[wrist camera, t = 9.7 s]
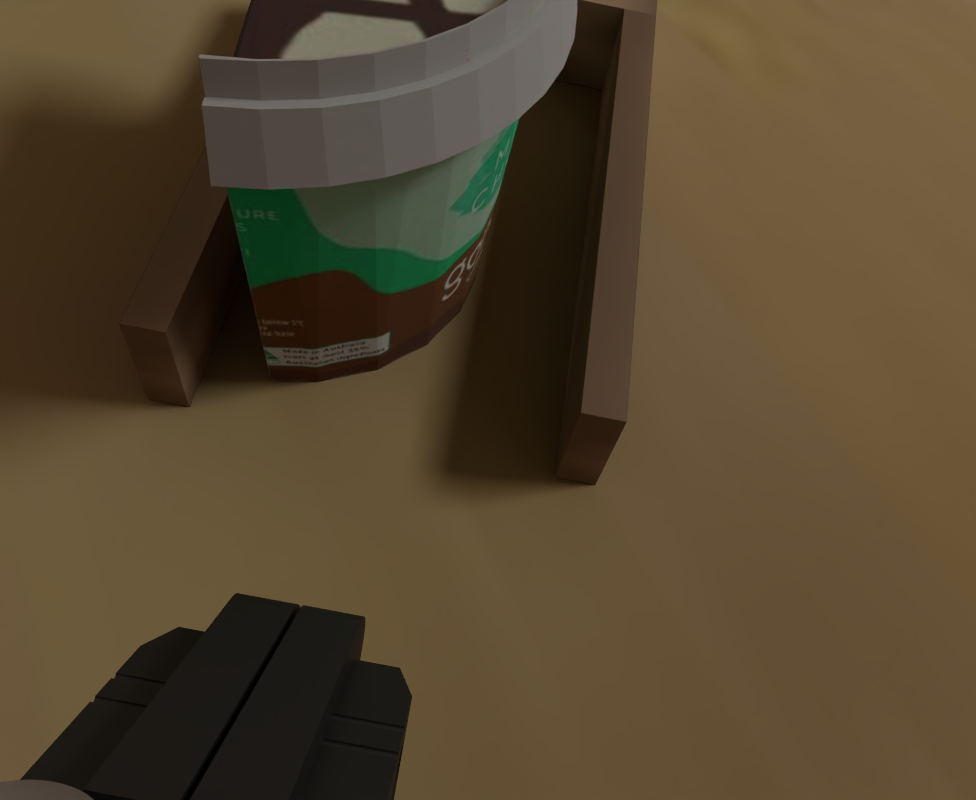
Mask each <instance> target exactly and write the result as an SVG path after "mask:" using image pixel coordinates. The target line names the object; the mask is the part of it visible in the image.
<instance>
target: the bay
mask: <svg viewBox="0 0 976 800" xmlns="http://www.w3.org/2000/svg"><path fill="white" fill-rule="evenodd" d="M656 8H657V0H577V18H576V28H575V38H574V41H573V44H572V47H571V49H570V52H569V54H568V57H567V60H566V62H565V65H564V67H563V69H562V70H561V72H560V73H559V75H558V76H557V77H556V79H555V80H557V81H562V82H567V83H572V84H577V85H582V86H586V87H591V88H596V89H601V90H602V93H601V101H600V109H599V118H598V126H597V134H596V142H595V151H594V159H593V167H592V176H591V184H590V192H589V200H588V209H587V217H586V225H585V233H584V242H583V250H582V258H581V266H580V275H579V283H578V291H577V299H576V308H575V316H574V324H573V332H572V341H571V349H570V357H569V365H568V374H567V382H566V390H565V398H564V407H563V415H562V423H561V432H560V440H559V448H558V456H557V465H556V473H555V477H557V478H563V479H568V480H573V481H578V482H583V483H589V484H594V485H595V484H596V482H597V480H598V478H599V476H600V474H601V472H602V470H603V468H604V466H605V464H606V462H607V460H608V458H609V456H610V454H611V452H612V450H613V448H614V446H615V444H616V442H617V440H618V438H619V436H620V434H621V432H622V430H623V428H624V426H625V424H626V422H627V410H628V397H629V383H630V369H631V355H632V341H633V327H634V313H635V300H636V286H637V272H638V258H639V244H640V230H641V216H642V203H643V189H644V175H645V161H646V147H647V133H648V119H649V106H650V92H651V78H652V64H653V50H654V36H655V22H656ZM244 271H245V266H244V262H243V257H242V253H241V249H240V244H239V240H238V236H237V231H236V227H235V223H234V218H233V214H232V210H231V205H230V201H229V197H228V192H227V188H226V187H218V186H211V182H210V174H209V165H208V156H207V148H206V147H205V149H204V151H203V153H202V155H201V157H200V159H199V161H198V163H197V165H196V168H195V170H194V172H193V174H192V176H191V178H190V180H189V182H188V184H187V186H186V188H185V190H184V192H183V194H182V196H181V198H180V200H179V202H178V204H177V206H176V208H175V210H174V212H173V214H172V216H171V218H170V220H169V223H168V225H167V227H166V229H165V231H164V233H163V235H162V237H161V239H160V241H159V243H158V245H157V247H156V249H155V251H154V253H153V255H152V257H151V259H150V261H149V263H148V265H147V267H146V269H145V271H144V273H143V276H142V278H141V280H140V282H139V284H138V286H137V288H136V290H135V292H134V294H133V296H132V298H131V300H130V302H129V304H128V306H127V308H126V310H125V312H124V314H123V316H122V318H121V320H120V322H119V325H120V327H121V330H122V332H123V335H124V337H125V340H126V343H127V345H128V348H129V350H130V353H131V355H132V358H133V361H134V363H135V366H136V368H137V371H138V373H139V376H140V379H141V381H142V384H143V386H144V389H145V391H146V394H147V397H148V399H152V400H157V401H162V402H167V403H172V404H178V405H183V406H188V407H190V404H191V402H192V399H193V397H194V394H195V392H196V389H197V387H198V384H199V382H200V380H201V377H202V375H203V372H204V370H205V367H206V365H207V362H208V360H209V357H210V355H211V352H212V350H213V348H214V345H215V343H216V340H217V338H218V335H219V333H220V330H221V328H222V325H223V323H224V320H225V318H226V315H227V313H228V311H229V308H230V306H231V303H232V301H233V298H234V296H235V293H236V291H237V288H238V286H239V283H240V281H241V279H242V276H243V274H244Z"/></svg>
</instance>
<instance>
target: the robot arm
mask: <svg viewBox="0 0 976 800" xmlns="http://www.w3.org/2000/svg"><path fill="white" fill-rule="evenodd" d="M364 631H365V617H364V616H358V615H353V614H348V613H342V612H337V611H331V610H326V609H321V608H315V607H310V606H305V605H304V606H302V607H301V608H300V606H299V605H298V604H293V603H287V602H282V601H277V600H271V599H266V598H261V597H255V596H250V595H245V594H239V593H236V594H235V595H234V596H233V597H232V598H231V599H230V600H229V602H228V603H227V604H226V605H225V607H224V608H223V609H222V611H221V612H220V613H219V615H218V616H217V617H216V618H215V620H214V621H213V622H212V624H211V625H210V626H209V627H208V629H207V630H206V631H205V632H203V631H198V630H192V629H187V628H182V627H178V628H176V629H174V630H172V631H170V632H168V633H166V634H164V635H162V636H160V637H158V638H155V639H153V640H151V641H149V642H147V643H145V644H143V645H141V646H140V647H139V648H138V649H137V650H136V651H135V652H134V654H133V655H132V656H131V657H130V658H129V659H128V660H127V661H126V662H125V664H124V665H123V666H122V667H121V668H120V669H119V670H118V671H117V672H116V676H115V678H114V679H112V678H111V679H110V680H109V681H108V682H107V684H106V685H105V686H104V687H103V688H102V689H101V690H100V691H99V692H98V694H97V695H96V696H95V700H94V702H89V704H88V705H87V706H86V707H85V708H84V709H83V710H82V711H81V712H80V714H79V715H78V716H77V717H76V718H75V719H74V720H73V721H72V722H71V724H70V725H69V726H68V727H67V728H66V729H65V730H64V731H63V732H62V734H61V735H60V736H59V737H58V738H57V739H56V740H55V741H54V742H53V744H52V745H51V746H50V747H49V748H48V749H47V750H46V751H45V752H44V754H43V755H42V756H41V757H40V758H39V759H38V760H37V761H36V762H35V764H34V765H33V766H32V767H31V768H30V769H29V770H28V771H27V772H26V774H25V775H24V776H23V777H22V778H21V779H20V780H13V781H6V782H0V800H394V795H395V790H396V784H397V778H398V773H399V767H400V761H401V756H402V750H403V745H404V739H405V733H406V728H407V722H408V716H409V711H410V705H411V700H412V695H411V693H410V691H409V688H408V686H407V684H406V681H405V679H404V677H403V674H402V672H401V670H400V668H397V667H392V666H387V665H381V664H376V663H371V662H365V661H360V657H361V651H362V645H363V638H364Z"/></svg>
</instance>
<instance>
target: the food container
mask: <svg viewBox="0 0 976 800" xmlns="http://www.w3.org/2000/svg"><path fill="white" fill-rule="evenodd" d="M576 18H577V0H251V2H250V6H249V9H248V12H247V15H246V18H245V21H244V24H243V28H242V31H241V34H240V37H239V40H238V43H237V46H236V50H235V53H234V56H233V57H225V56H213V55H201V54H200V55H199V64H200V70H201V76H202V82H203V88H204V94H205V97H204V100H203V102H202V113H203V122H204V131H205V139H206V148H207V156H208V165H209V174H210V182H211V186H218V187H226V188H227V192H228V197H229V201H230V205H231V210H232V214H233V218H234V223H235V227H236V231H237V236H238V240H239V244H240V249H241V253H242V257H243V262H244V266H245V270H246V275H247V279H248V283H249V288H250V292H251V296H252V301H253V305H254V309H255V314H256V318H257V322H258V327H259V331H260V335H261V340H262V344H263V349H264V353H265V357H266V362H267V366H268V370H269V375H270V379H271V380H278V381H313V382H319V381H324V380H329V379H334V378H339V377H344V376H349V375H354V374H359V373H364V372H368V371H373V370H378V369H380V368H382V367H384V366H386V365H388V364H390V363H392V362H394V361H396V360H398V359H400V358H402V357H404V356H406V355H408V354H410V353H412V352H414V351H415V350H417V349H419V348H421V347H423V346H425V345H427V344H428V343H429V342H430V341H431V340H432V339H433V338H434V337H435V336H436V335H437V334H438V333H439V332H440V331H441V330H442V329H443V328H444V327H445V326H446V325H447V324H448V323H449V322H450V321H451V320H452V319H453V318H454V317H455V316H456V315H457V314H458V313H459V312H460V311H461V308H462V306H463V304H464V302H465V300H466V298H467V295H468V293H469V291H470V289H471V287H472V285H473V282H474V280H475V276H476V272H477V269H478V265H479V262H480V258H481V254H482V251H483V247H484V244H485V240H486V237H487V233H488V229H489V226H490V222H491V219H492V215H493V211H494V208H495V204H496V201H497V197H498V193H499V190H500V186H501V183H502V179H503V176H504V172H505V168H506V165H507V161H508V158H509V154H510V150H511V147H512V143H513V140H514V136H515V132H516V129H517V125H518V122H519V118H520V117H521V116H522V115H523V114H524V113H525V112H526V111H527V110H529V109H530V108H531V107H532V106H533V105H534V104H535V103H536V102H537V101H538V100H539V99H540V98H541V97H543V96H544V95H545V93H546V92H547V90H548V89H549V88H550V86H551V85H552V83H553V82H554V80H555V79H556V77H557V76H558V75H559V73H560V72H561V70H562V69H563V67H564V65H565V62H566V60H567V57H568V54H569V52H570V49H571V47H572V44H573V41H574V38H575V28H576Z"/></svg>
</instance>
